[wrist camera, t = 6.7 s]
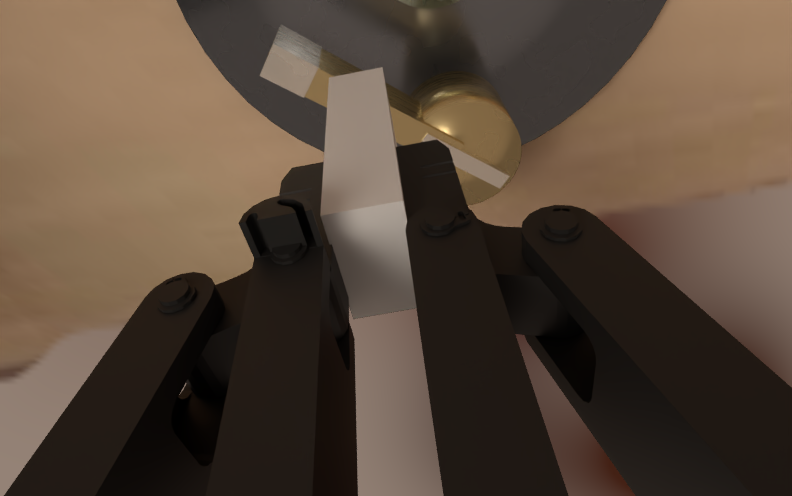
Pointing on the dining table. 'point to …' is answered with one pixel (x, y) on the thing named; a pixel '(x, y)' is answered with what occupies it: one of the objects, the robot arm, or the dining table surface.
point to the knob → (418, 111)
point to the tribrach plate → (431, 49)
